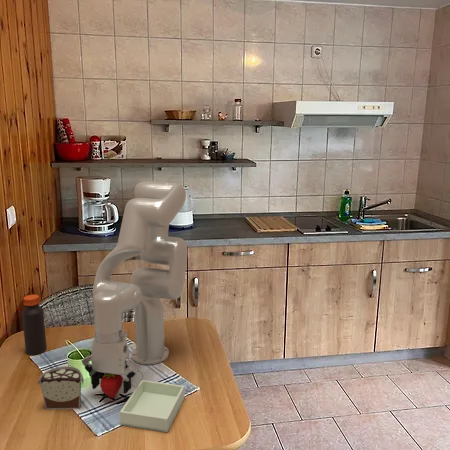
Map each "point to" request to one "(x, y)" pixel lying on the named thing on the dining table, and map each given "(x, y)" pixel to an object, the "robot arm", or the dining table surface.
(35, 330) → the bottle
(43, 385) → the food container
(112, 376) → the strawberry
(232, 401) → the dining table surface
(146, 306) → the robot arm
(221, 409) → the dining table surface
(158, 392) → the serving tray
